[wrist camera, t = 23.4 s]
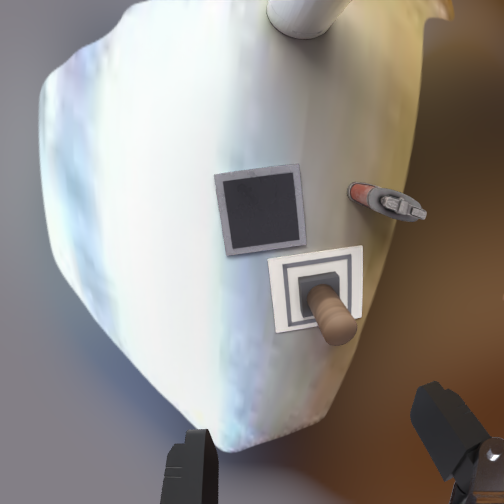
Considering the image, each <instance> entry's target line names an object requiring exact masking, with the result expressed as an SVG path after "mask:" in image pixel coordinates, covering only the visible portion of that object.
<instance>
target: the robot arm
mask: <svg viewBox="0 0 504 504" xmlns="http://www.w3.org/2000/svg"><path fill="white" fill-rule="evenodd" d="M351 1H352V0H269V1H268V5H267V15H268V18H269V20H270V22H271V23H272V24H273V26H274V27H275V28H276V29H278V30H279V31H280V32H282V33H284V34H285V35H288V36H290V37H294V38H298V39H312V38H315V37H318V36H320V35H322V34H323V33H324V32H326V31H327V30H328V28H329V27H330V26H331V25H332V23H333V22H334V21H335V20H336V19H337V17H338V16H339V15H340V14H341V13H342V11H343V10H344V9H345V8H346V7H347V5H348V4H349V3H350V2H351ZM410 417H411V422H412V424H413V426H414V428H415V430H416V431H417V433H418V435H419V437H420V438H421V440H422V442H423V443H424V445H425V447H426V449H427V451H428V452H429V454H430V456H431V457H432V460H433V461H434V463H435V465H436V467H437V468H438V470H439V472H440V474H441V476H442V478H443V480H444V481H447V480H449V479H451V478H453V477H454V479H455V480H456V482H455V484H454V487H453V491H452V495H451V499H450V502H449V504H504V440H503V439H502V438H498V437H493V438H492V437H491V436H490V435H489V434H488V433H487V431H486V430H485V429H484V427H483V426H482V425H481V423H480V422H479V421H478V419H477V418H476V417H475V415H474V414H473V413H472V412H470V409H469V408H468V406H467V405H465V402H464V401H463V400H462V399H461V397H460V396H459V395H458V394H456V393H455V392H453V391H451V390H450V389H447V390H444V389H443V387H442V386H441V385H440V384H439V383H438V382H437V381H433V382H431V383H428V384H426V385H423V386H420V387H419V388H418V389H417V392H416V395H415V399H414V402H413V405H412V409H411V414H410ZM218 472H219V461H218V454H217V450H216V448H215V445H214V443H213V440H212V438H211V435H210V433H209V430H208V429H197V430H187V432H186V437H185V444H174V446H173V447H172V449H171V450H170V452H169V453H168V456H167V461H166V469H165V474H164V476H165V478H164V481H163V487H162V494H161V501H160V504H218V477H219V476H218V475H219V473H218Z"/></svg>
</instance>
